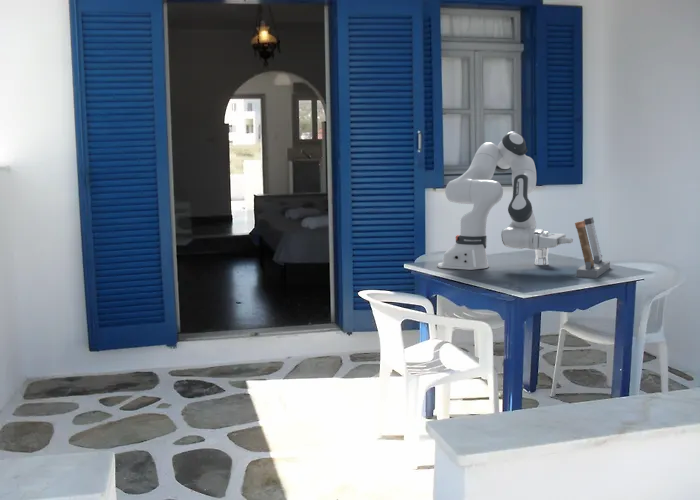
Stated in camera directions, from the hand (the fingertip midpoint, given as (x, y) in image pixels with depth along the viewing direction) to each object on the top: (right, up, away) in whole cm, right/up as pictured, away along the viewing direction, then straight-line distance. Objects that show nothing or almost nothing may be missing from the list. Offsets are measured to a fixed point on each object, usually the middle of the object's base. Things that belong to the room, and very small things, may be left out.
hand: (572, 241), depth 312 cm
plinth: (+11, -13, +5) cm, 18 cm away
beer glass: (-6, -11, +28) cm, 30 cm away
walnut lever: (+7, -11, -3) cm, 13 cm away
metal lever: (+15, -9, +13) cm, 22 cm away
